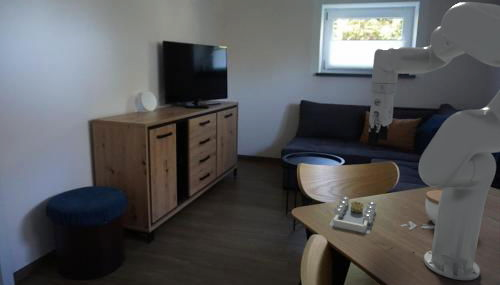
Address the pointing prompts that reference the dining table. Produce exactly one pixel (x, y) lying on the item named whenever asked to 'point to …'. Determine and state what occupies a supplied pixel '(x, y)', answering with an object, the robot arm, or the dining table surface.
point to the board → (352, 221)
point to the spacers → (345, 203)
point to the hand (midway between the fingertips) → (377, 141)
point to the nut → (357, 207)
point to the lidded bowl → (432, 204)
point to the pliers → (416, 225)
